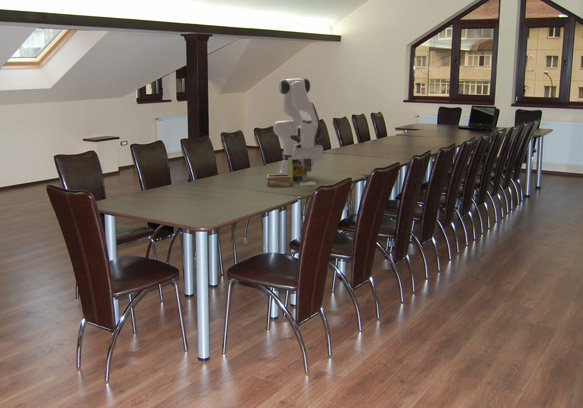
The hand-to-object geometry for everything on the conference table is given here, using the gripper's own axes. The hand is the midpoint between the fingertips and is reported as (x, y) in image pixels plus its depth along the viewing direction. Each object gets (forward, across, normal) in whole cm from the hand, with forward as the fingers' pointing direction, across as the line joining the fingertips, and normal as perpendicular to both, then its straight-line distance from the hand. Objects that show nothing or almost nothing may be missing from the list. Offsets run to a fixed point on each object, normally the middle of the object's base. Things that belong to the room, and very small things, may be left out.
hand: (307, 165), depth 427 cm
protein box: (+13, +5, -19) cm, 23 cm away
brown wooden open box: (+12, +19, 0) cm, 23 cm away
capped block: (+3, 0, 0) cm, 3 cm away
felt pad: (+12, 0, 0) cm, 12 cm away
